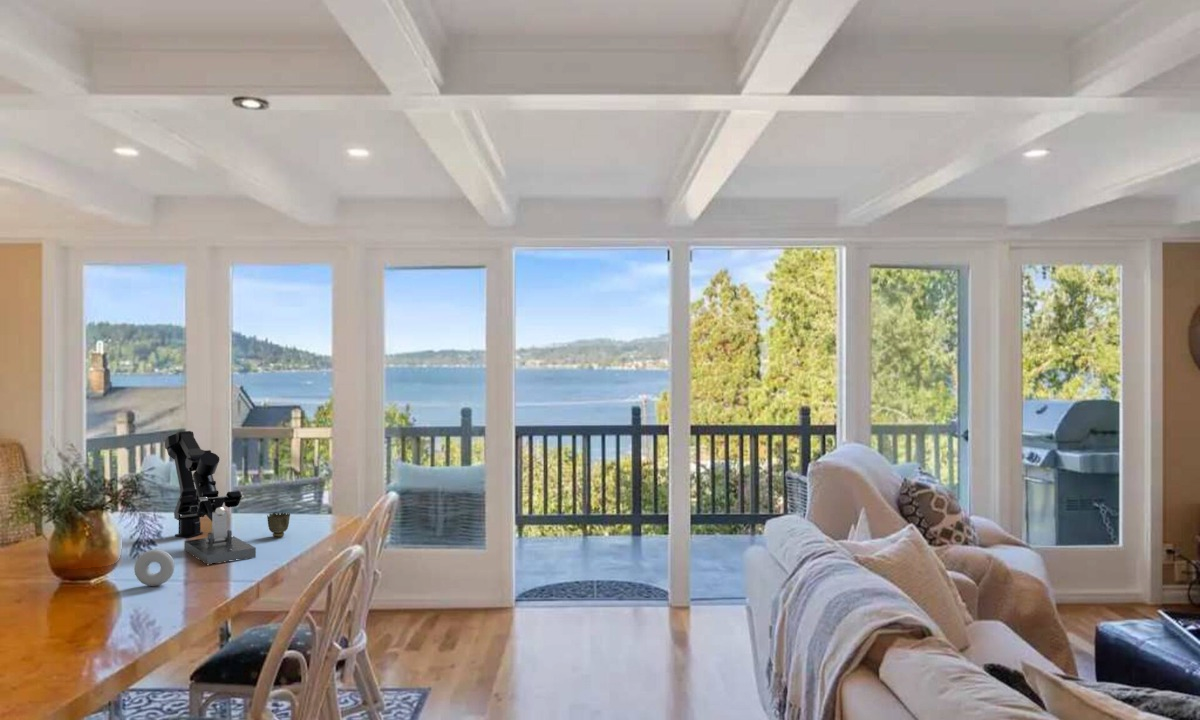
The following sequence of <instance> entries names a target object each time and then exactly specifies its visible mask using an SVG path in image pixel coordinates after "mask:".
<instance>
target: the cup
mask: <svg viewBox="0 0 1200 720" xmlns="http://www.w3.org/2000/svg"><path fill="white" fill-rule="evenodd" d="M266 515H267V517H266V518H267V524H268V529H269V531H270V532H271V533H272V537H273V538H278V537H279V538H283V537H284V536H285V533H284V532H286V531H287V530H288V527H289V526H290V525H289V524H290V517H291V513H289V512H283V511H282V512H281V513H280V512H277V513H276V512H273V513H269V514H266Z"/></svg>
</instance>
